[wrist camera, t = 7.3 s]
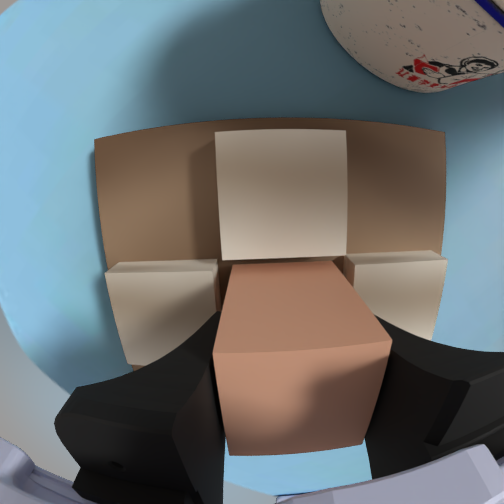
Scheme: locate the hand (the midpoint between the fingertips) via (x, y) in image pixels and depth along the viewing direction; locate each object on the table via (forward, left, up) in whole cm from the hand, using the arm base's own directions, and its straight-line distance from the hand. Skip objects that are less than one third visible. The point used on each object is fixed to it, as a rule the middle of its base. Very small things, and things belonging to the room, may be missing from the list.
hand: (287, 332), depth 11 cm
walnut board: (0, 0, -3) cm, 3 cm away
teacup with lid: (+15, -8, -3) cm, 17 cm away
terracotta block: (0, 0, -2) cm, 2 cm away
